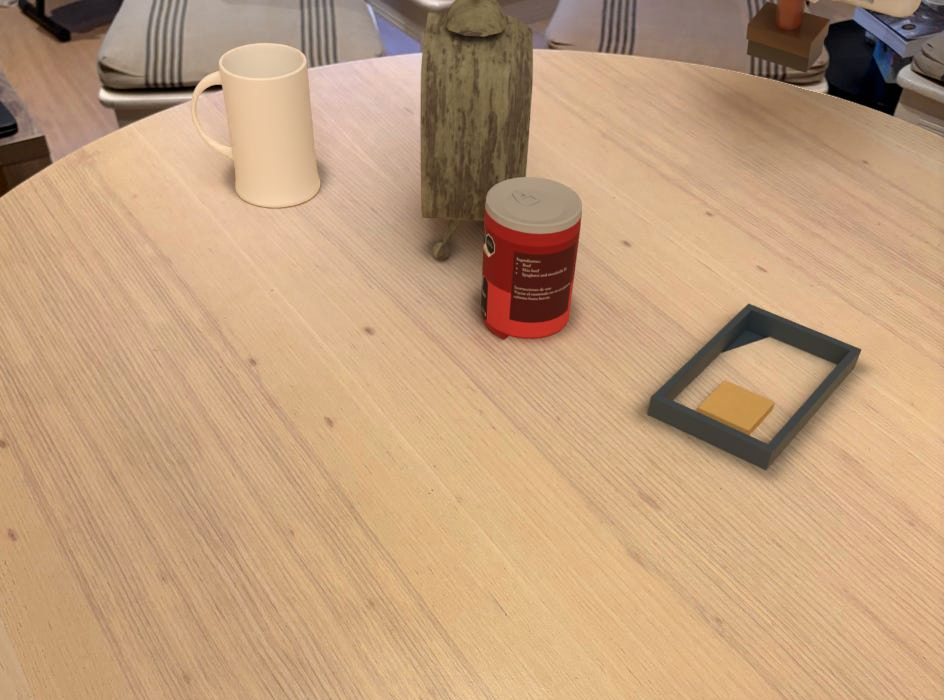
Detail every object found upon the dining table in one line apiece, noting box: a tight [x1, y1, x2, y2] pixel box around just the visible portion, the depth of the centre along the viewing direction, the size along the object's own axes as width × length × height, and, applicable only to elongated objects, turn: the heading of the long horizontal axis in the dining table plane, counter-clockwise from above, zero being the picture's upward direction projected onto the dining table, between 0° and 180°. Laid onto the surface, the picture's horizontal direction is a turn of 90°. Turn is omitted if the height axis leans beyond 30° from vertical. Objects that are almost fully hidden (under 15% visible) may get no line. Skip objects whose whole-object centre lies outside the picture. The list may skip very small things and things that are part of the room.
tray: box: [646, 303, 862, 471], centre depth 82 cm, size 16×10×3 cm, turn 143°
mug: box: [190, 42, 321, 209], centre depth 99 cm, size 12×8×12 cm
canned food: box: [480, 176, 583, 340], centre depth 86 cm, size 8×8×11 cm
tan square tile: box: [696, 379, 776, 436], centre depth 81 cm, size 4×4×1 cm
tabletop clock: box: [420, 0, 534, 261], centre depth 89 cm, size 14×9×25 cm, turn 178°
